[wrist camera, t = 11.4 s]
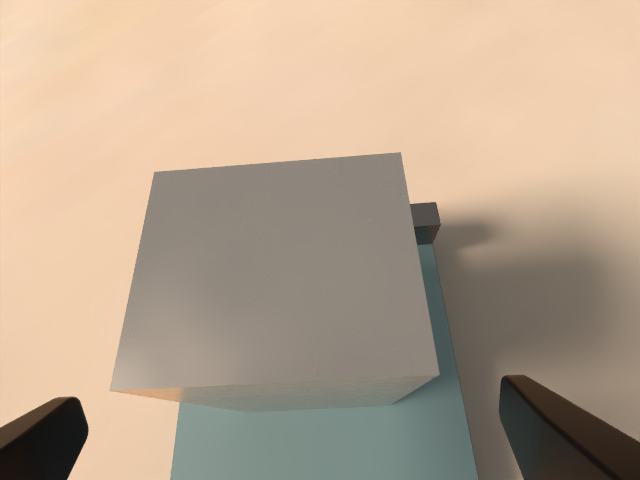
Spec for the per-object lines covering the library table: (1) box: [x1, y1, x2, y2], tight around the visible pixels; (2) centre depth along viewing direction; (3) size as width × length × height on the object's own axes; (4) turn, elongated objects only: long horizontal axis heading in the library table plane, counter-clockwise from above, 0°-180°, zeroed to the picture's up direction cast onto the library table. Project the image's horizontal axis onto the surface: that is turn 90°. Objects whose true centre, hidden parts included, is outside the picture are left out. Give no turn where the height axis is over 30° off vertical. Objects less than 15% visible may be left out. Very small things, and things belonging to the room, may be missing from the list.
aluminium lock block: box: [110, 152, 440, 412], centre depth 12 cm, size 5×6×10 cm
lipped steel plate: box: [170, 202, 478, 480], centre depth 16 cm, size 12×12×4 cm
